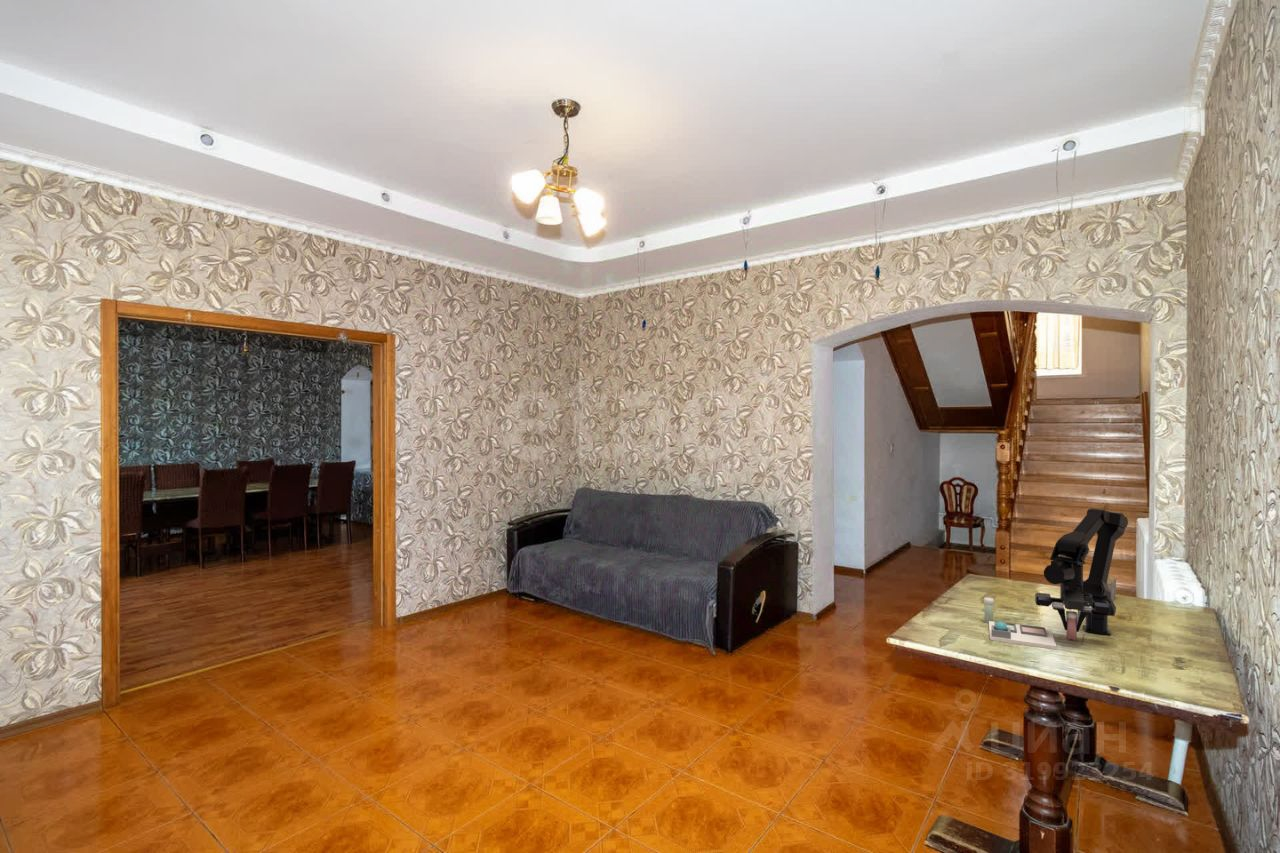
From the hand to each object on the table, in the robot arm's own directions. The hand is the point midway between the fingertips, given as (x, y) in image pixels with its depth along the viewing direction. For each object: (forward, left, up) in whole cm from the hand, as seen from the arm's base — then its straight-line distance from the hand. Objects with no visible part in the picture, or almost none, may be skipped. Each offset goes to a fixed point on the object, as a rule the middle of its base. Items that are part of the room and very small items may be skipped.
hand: (1071, 630), depth 189 cm
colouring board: (+4, -13, -3) cm, 14 cm away
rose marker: (0, 0, -2) cm, 2 cm away
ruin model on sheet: (-58, +18, -3) cm, 61 cm away
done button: (+9, -19, 0) cm, 21 cm away
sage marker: (-7, -22, -3) cm, 23 cm away
